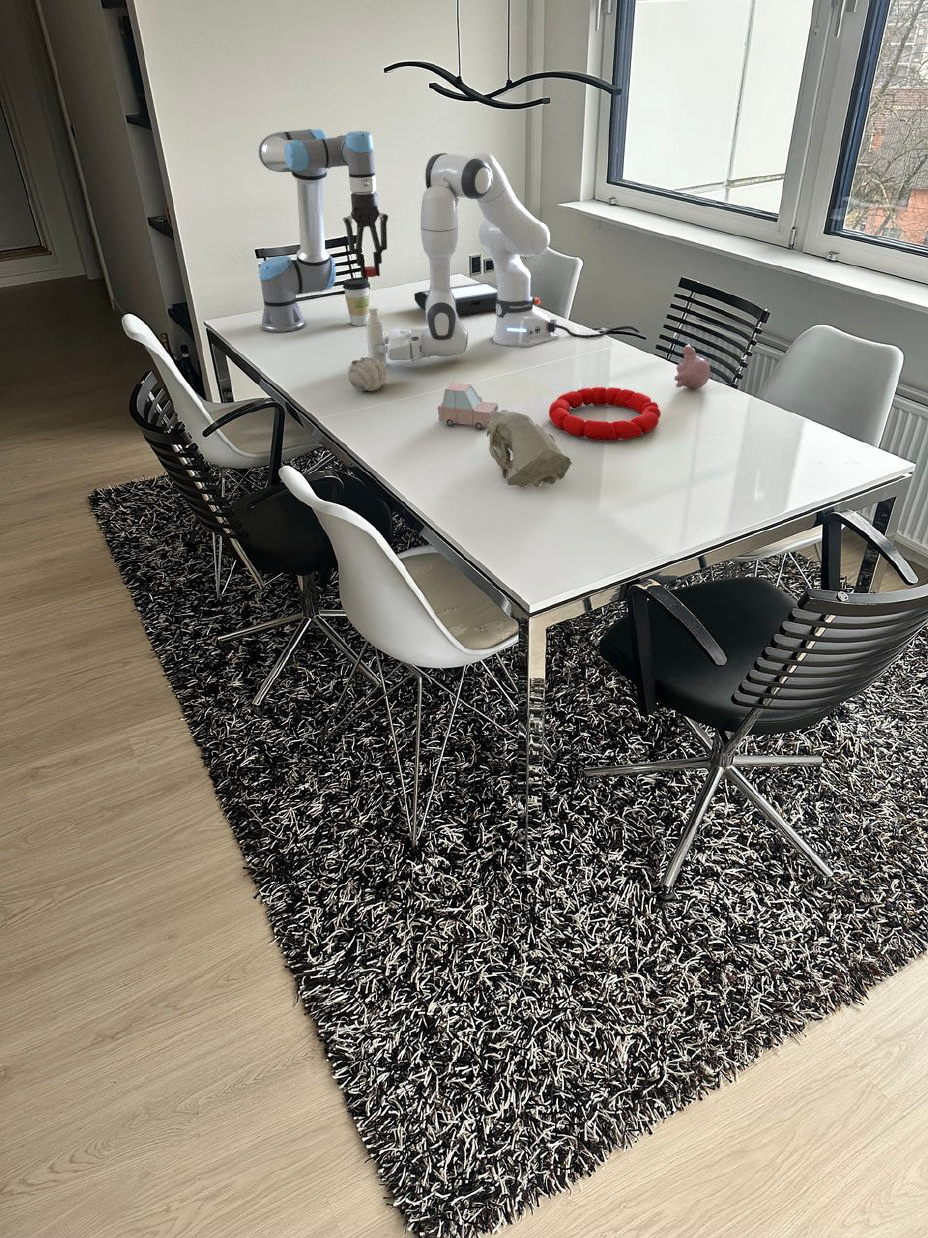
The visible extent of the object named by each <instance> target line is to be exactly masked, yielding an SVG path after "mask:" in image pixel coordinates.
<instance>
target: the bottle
mask: <svg viewBox="0 0 928 1238" xmlns="http://www.w3.org/2000/svg"><path fill="white" fill-rule="evenodd" d="M365 329H366V331H365V332H366V340H367V341H366V342H367V352H368V353H367V354H368V358H375V359H376V358H377V359H378V360H379V361H380V362H381V361H383V362H384V364H385V366H386V367H387V366H388V362H387V361H388V360H387V353H382V352H374V351H373V346H374V345H379V346H384V345H386V344H385V324H384V321H383V320H382V319H381V318H380V316H379V308H378V307H377V306H372V307H369V317H368V321H367V322H366V325H365Z"/></svg>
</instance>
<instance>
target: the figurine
mask: <svg viewBox="0 0 928 1238" xmlns="http://www.w3.org/2000/svg"><path fill="white" fill-rule="evenodd" d="M682 354H683V358H684V359H683V361H682V362H679V363H678V364H677V365H676V372H677V375H675V376H674V381H675V382H676V381H677V382H676V384H675V386H676V388H681V387H686V388H688V389H693V390H694V389H695V390H696V389H700V388H703V387H704V386H705V385H706V384H707V383H708V382H709V379H710V377H711V367H710V364H709V362H708V361H706V359H704V358H702V357H700V356H697V353H696V350H695V349H694V347H692V345H690V344H686V345H685V346H684V347H683V348H682Z"/></svg>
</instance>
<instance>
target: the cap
mask: <svg viewBox="0 0 928 1238" xmlns="http://www.w3.org/2000/svg"><path fill="white" fill-rule="evenodd" d="M365 274H366V278H375V277H378V276H377V271H376V267H374V266H372V265H371V266H365Z"/></svg>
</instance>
